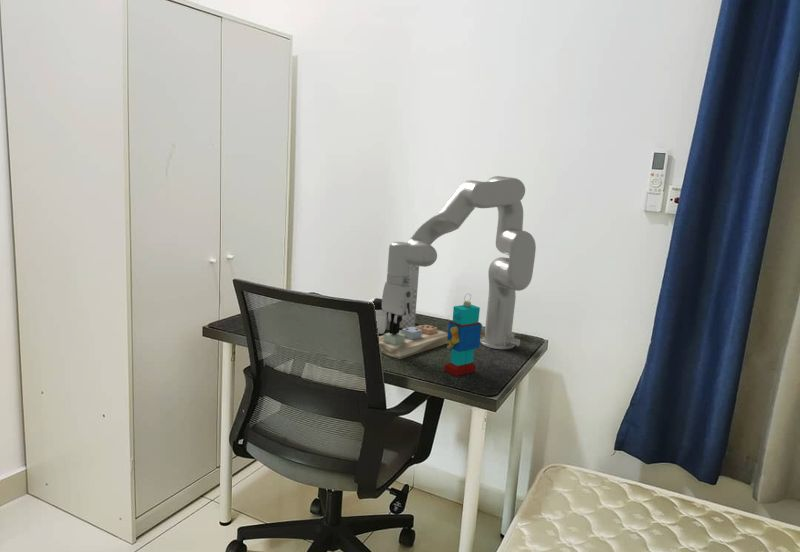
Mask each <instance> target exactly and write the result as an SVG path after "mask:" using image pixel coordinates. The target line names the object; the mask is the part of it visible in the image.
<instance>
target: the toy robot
mask: <svg viewBox="0 0 800 552" xmlns="http://www.w3.org/2000/svg"><path fill="white" fill-rule="evenodd" d="M467 295H468V293H467V294H465V295H464V298H463V299H464V301H463V304H462V305H461V304H460V305H455V306H453V307H452V308H453V310H452V311H453V312H452V320H451V321H450V322H448V328H447V333H448V338H447V341H446V344H445V345H446V348H447V349H451V352H450V362H448V363H446V364H444V366H443V371H445V372H446V373H448V374H451V375H453V376H455V377H458V376H459V377H460V376H463V375H467V374H470V373H475V372H476V365H475V364H474V354H475V349H479V348H480V347H481V346H480V344H481V343H480V339H482V338H483V336H484V334H483V333H484V332H483V324H482V323H481V322H480V321H479V318H480V312H481V311H480V310H481V308H480V306H477V305H474V304H472V301H471V298H472V295H471V294H469V296H470V298H469V300H467V301H466V296H467Z"/></svg>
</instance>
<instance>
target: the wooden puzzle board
mask: <svg viewBox="0 0 800 552" xmlns="http://www.w3.org/2000/svg"><path fill="white" fill-rule="evenodd" d="M423 325H424V324H419V325H415V327H414V328H417V329H418V327H419V326H423ZM399 333H402V329H401V330H399ZM378 337H379V344H380V348H381V352H380V353H382V354H384V355H387V356H388V357H391V358H395V359H397V360H402V359H406V358H408V357H410V356H413V355H417V354H420V353H423V352H425V351H428V350H431V349H435V348H436V347H437V348H438V347H440V346H443V345H447V344H446V341H447V338H448V332H446V331H442V330H439V329H437V333H435V334H432V335H426V334H423V333H422V336H421V338H419V339H416V340H409V339H406V338H405V343H403V344H399V345H396V346H394V345H391V344H388V343H385V342H384V334H382V335H380V336H378Z"/></svg>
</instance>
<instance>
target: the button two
mask: <svg viewBox="0 0 800 552" xmlns="http://www.w3.org/2000/svg"><path fill="white" fill-rule="evenodd" d="M401 330H402V333H401V334H404V335H405V338H406V339H409V340H416V339H419V338H421V336H422V330H420V329H417V328H414V327H408V328H401Z"/></svg>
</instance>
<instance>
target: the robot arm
mask: <svg viewBox="0 0 800 552" xmlns="http://www.w3.org/2000/svg"><path fill="white" fill-rule="evenodd" d="M525 194H526V186H525V184H524V183H523V181H522V180H520V179H519V178H516V177H509V176H502V175H501V176H499V175H497V176H496V175H495V176H492V177H490V178H488V180H487V181H479V180H465V181H463V182H462V183H461V184H460V185H459V187H458V188H457V189H455V191H454V193H453V194H452V195H451V196H450V198H449V199H448V200H447V202H446V203H444V205H443V207H441V209H440V210H439V211H438V212H437V213H436V214H435V215H433V216H432V217H430V218H429V219H428V220H426V221H425V222H424V223H422V225H421V226H419V227H418V228H417V229H416V230H415V232H413V234H412V235H411V236H410V238H409V239H408V241H407V242H406V241H405V242H404V241H393V242H390V244H389V246H388V257H387V259H388V260H387V270H386V282H384V287H383V290H382V296H381V299H382V309H383V313H384V314H386V315H387V319H388V320H387V321H388V322H389V328H388V329H389V330H388V333H390V334H393V335H394V334H397V333H399V331H400V328H399V326H400V322H401V321H402V320H407V319H409V314H411V313H412V288H411V285H409V283H411V282H412V280H411V279H410V270H411V265H416V266H419V267H430V266H432V265H433V264H435V262H436V261H437V259H438V253H437V250H436V248H434V246H433V245H432V244H433V243H434V242H435V241H436V240H437V239H438V238H440V237H442V236H444V235H446V234H450V233H452V232H454V231H456V230H458V229H460V227H461V226H462V224H464V222H465V221H466V220H467V218H468V217H469V216H470V215H471V213H473V212H474V210H475V209H476V208H477V209H491V208H492V209H493V208H497V213H498V215H497V216H498V217H497V225H496V226H497V227H496V229H497V230H496V234H495V235H496V236H495V247H496V248H495V249H497V250H498V251H499V252H500V253H501V254H504V255H506V256H508V257H504V256H503V257H497V258H495V259H494V260H493V261H491V263H490V264H489V268H488V273H487V274H488V275H487V276H488V299H487V309H486V320H485V329H484V334H483V338H482V339H480V344H481V345H482V346H484V347H487V348H489V349H496V350H511V349H513V348H514V347H515V346H516V347H519V346H520V345H521V339H518V338H515V333H513V324H514V316H515V315H514V313H515V308H516V307H515V306H516V297H517V296H516V292H517V291H518V292H520V291H524V290H525V289H527V288H528V286H529V285H530V284H531V281H532V278H533V275H534V274H533V273H534V268H535V259H536V252H537V251H536V249H537V247H536V246H537V245H536V240H535V238H534V236H533V234H531V233H530V232H528V231H526V230H523V226H524V206H523V203H522V200H523V198H524V197H525ZM398 316H399V317H398Z"/></svg>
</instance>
